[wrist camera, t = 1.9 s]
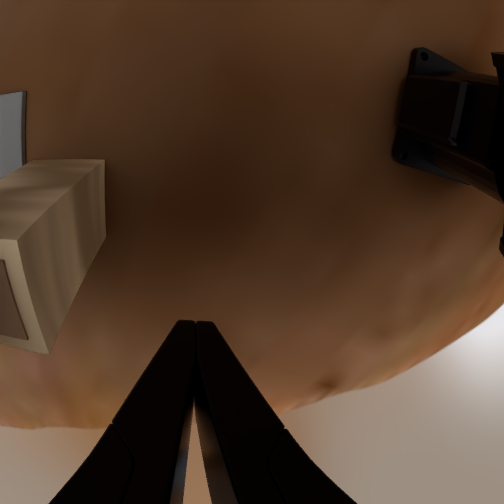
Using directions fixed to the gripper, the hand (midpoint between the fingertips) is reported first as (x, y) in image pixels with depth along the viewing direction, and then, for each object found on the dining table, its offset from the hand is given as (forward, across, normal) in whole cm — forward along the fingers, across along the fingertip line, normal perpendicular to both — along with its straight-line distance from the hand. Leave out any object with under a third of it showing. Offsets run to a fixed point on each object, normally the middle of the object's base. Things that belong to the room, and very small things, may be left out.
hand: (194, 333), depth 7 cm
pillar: (+8, +7, 0) cm, 11 cm away
